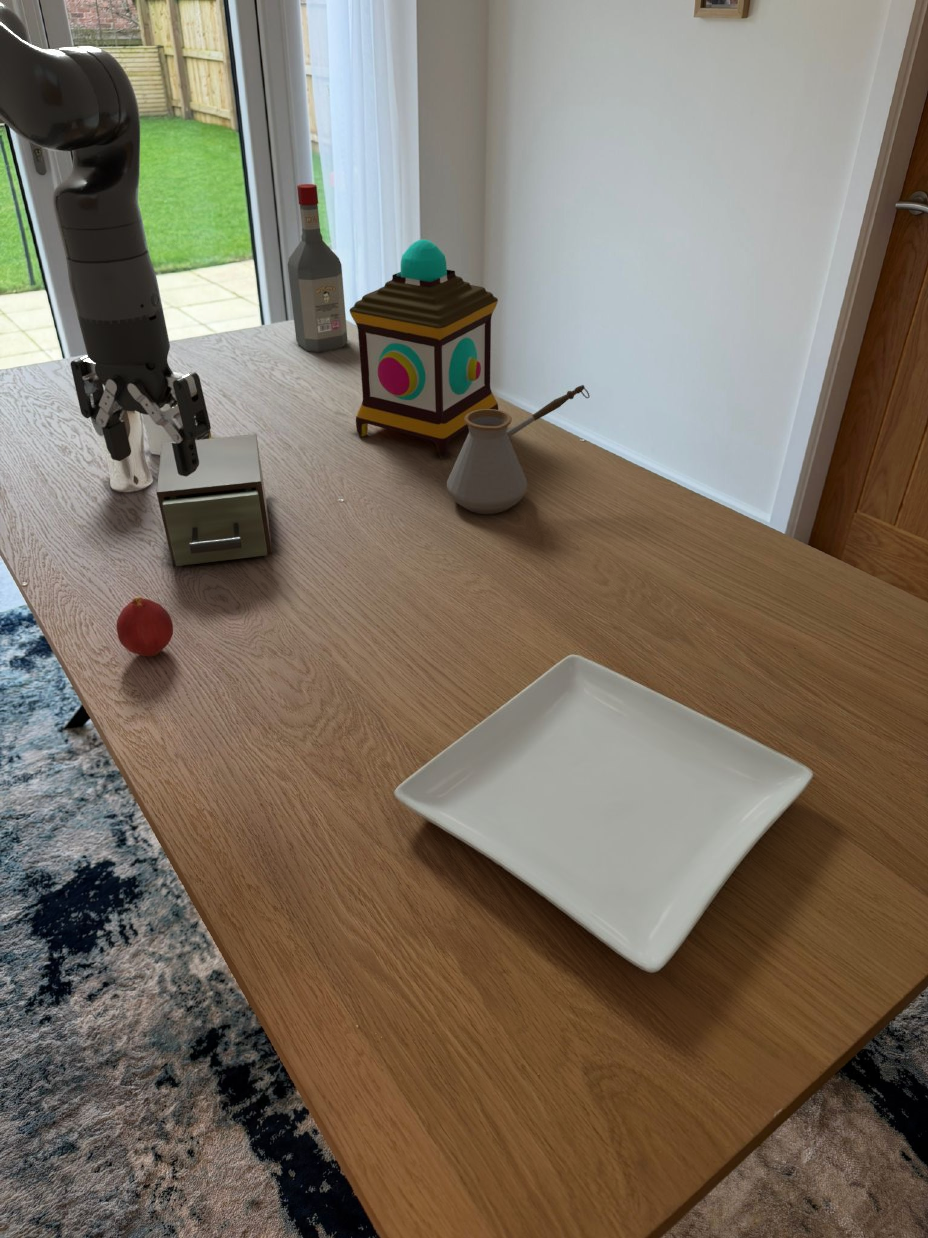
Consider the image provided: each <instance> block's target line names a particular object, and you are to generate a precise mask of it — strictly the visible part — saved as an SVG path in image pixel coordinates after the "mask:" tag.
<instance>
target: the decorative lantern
mask: <svg viewBox="0 0 928 1238" xmlns="http://www.w3.org/2000/svg"><path fill="white" fill-rule="evenodd" d="M391 277H392V278H391V280H388V281H386V282H385V283H384V286H382V287H379V288H378V289H376V290H373V291H370V292H369V293H366V294H364V295H363V296H362V297H361V299H359V300H357V301H356V302H355V303H354V305H353V306H352V307H350V308H349V314H350V316H351V318H352V319H353V321H354V323H355V325H356V328H357V334H358V336H357V337H358V347H359V348H358V349H359V363H360V364H359V365H360V375H361V388H362V389H361V391H362V401H361V404H360V407H359V409H358V411H357V414H356V416H355V427H356V432H357V434H358V436H360V437H365V436H367V435H368V428H369V427H368V426H374V427H378V428H383V429H385V430H389V431H394V432H398V433H402V434H405V435H408V436H412V437H417V438H420V439H425V440H428V441H431V442H433V443H434V444H435V445H436V448H437V454H438V457H439V458H441V459H444V458H446V457H447V454H448V449H449V443H450V441H451V440H452V439H453V438H454V437H456V436H457V435H459V434H461V433H462V432H463V431H465V430H466V429H469V428H468V425H467V424H466V423H465V421H464V418H465V416H466V415H467V414H468V413H470V412H472V411H475V410H481V409H495V410H499V404H498V401H497V399H496V397H495V395H494V393H493V392H492V389H491V388H492V387H491V356H492V355H491V353H492V352H491V349H492V348H491V346H492V345H491V343H492V338H491V337H492V316H493V313H494V311H495V310H496V307H497V305H498V303H499V299H498V297H496V296H494V294H493V293H492V292H491V291H487V290H486V288H485V287H483V286H479V285H475V284H471V283H470V282H468V281H464V279H463V278H462V277H461V276H458V275H456V270H451V269H447V260H446V255H445V254H444V253H443V251H442V250H441V249H440V248H439V247H438V245H437V244H435V243H434V242H433V241H430V240H429V239H422V238H421V239H418V240H416V241H414V242H413V243H412V244H410V245H409V246H408V248H407V249H406V250H405V251H404V252H403V254H402V255H401V258H400V271H399V272H396V273H394V274H392V276H391Z"/></svg>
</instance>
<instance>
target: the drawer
mask: <svg viewBox="0 0 928 1238" xmlns="http://www.w3.org/2000/svg"><path fill="white" fill-rule="evenodd" d="M163 510H164V514H165V519H166V523H167V527H168V532H169V536H170V541H171V545H172V550H173V554H174V558H175V563H176V564H175V566H176V567H180V566H190V565H195V564H196V565H197V564H206V563H214V562H215V563H216V562H222V561H231V560H239V559H245V558H246V559H248V558H256V557H263V556H268V553H267V548H266V541H265V535H264V528H263V522H262V515H261V509H260V503H259V496H258V491H257V490H256V491H255V488H246V489H237V490H227V491H218V492H208V493H199V494H190V495H180V496H171V497H170V500H163Z"/></svg>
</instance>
